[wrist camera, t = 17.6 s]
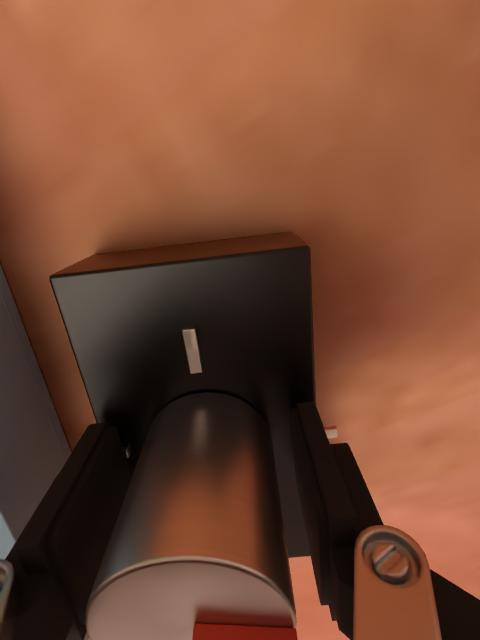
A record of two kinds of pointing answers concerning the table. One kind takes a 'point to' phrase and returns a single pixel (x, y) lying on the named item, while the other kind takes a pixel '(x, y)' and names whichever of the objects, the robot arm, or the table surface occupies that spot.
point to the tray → (24, 427)
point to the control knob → (198, 533)
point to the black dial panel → (197, 338)
